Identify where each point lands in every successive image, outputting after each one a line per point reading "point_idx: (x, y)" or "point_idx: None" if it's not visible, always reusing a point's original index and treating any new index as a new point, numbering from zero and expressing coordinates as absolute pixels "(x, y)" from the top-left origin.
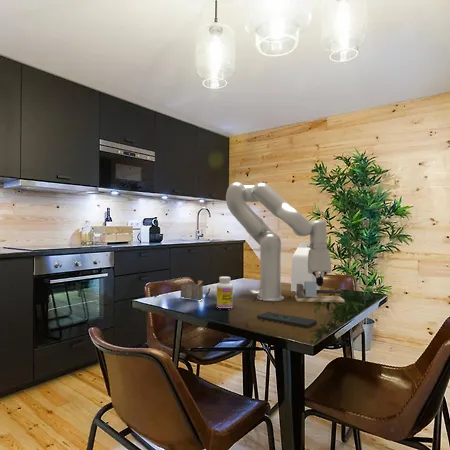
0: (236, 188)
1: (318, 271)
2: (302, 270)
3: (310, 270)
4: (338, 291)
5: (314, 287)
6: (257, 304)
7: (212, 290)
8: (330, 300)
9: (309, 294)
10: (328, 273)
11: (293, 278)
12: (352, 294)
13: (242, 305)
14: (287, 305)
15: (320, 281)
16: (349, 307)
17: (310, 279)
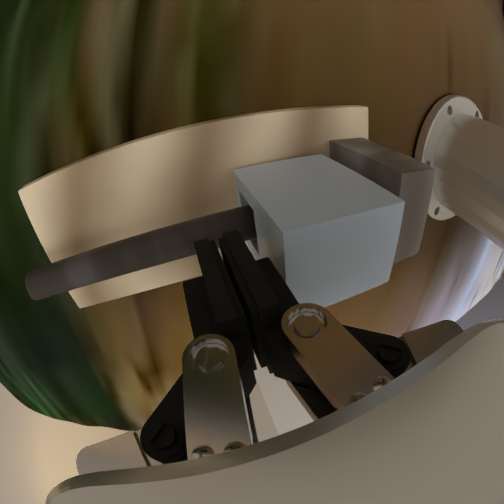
0: None
1: None
2: None
3: (496, 320)
4: (47, 271)
5: (283, 198)
6: (480, 50)
7: (501, 249)
8: (111, 148)
9: (300, 163)
10: (115, 437)
11: None
12: (70, 388)
13: (498, 45)
14: (402, 4)
15: (226, 274)
16: (5, 31)
17: (280, 417)
